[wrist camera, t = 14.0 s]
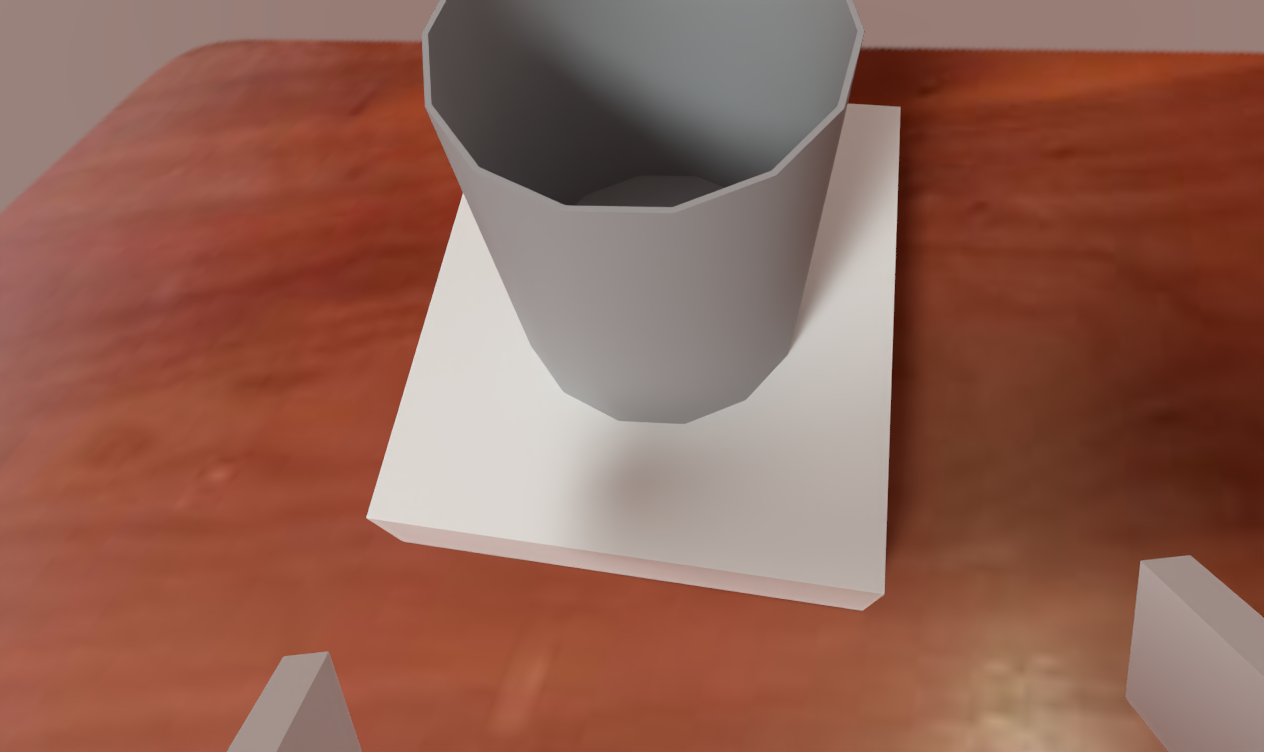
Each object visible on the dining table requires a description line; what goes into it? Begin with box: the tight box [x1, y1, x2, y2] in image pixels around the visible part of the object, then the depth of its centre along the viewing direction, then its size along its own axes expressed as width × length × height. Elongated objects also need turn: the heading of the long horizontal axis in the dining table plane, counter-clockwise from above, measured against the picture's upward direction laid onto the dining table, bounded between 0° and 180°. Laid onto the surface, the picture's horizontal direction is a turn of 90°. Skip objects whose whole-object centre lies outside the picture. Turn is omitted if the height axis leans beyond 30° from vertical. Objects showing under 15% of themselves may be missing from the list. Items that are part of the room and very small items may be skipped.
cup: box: [422, 0, 865, 424], centre depth 20 cm, size 8×8×10 cm
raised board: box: [366, 104, 901, 611], centre depth 26 cm, size 14×16×3 cm
